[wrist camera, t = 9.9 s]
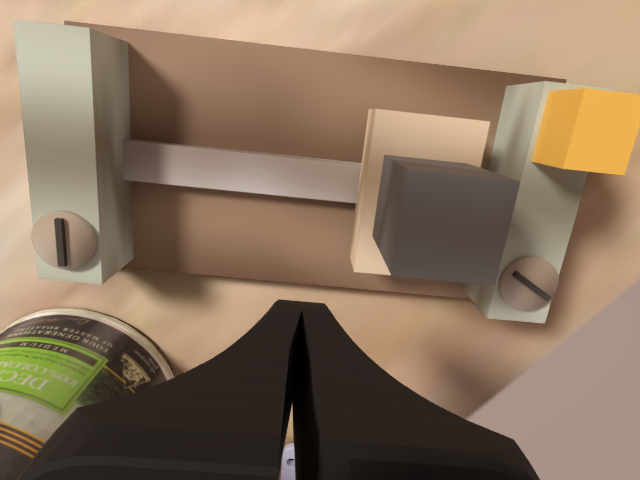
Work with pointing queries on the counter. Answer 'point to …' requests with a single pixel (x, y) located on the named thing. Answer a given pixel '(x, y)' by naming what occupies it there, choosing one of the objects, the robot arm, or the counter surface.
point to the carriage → (429, 200)
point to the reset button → (588, 130)
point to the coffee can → (65, 374)
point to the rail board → (258, 159)
